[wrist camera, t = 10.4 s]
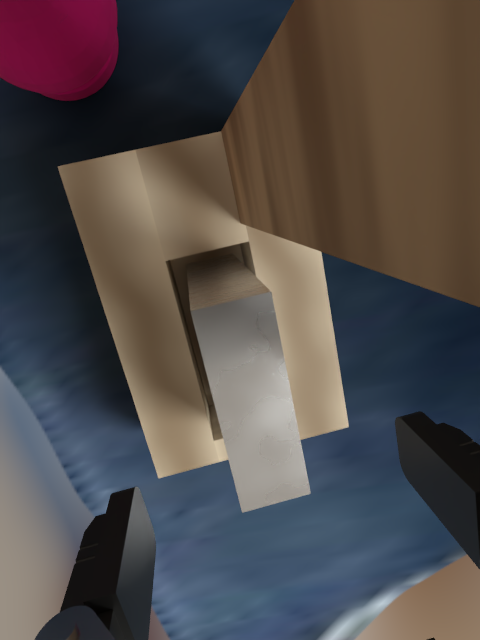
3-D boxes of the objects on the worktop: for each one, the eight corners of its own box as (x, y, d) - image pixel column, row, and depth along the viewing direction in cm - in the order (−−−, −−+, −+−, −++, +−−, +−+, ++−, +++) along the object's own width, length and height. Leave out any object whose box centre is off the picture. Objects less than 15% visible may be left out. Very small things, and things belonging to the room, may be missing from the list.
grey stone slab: (232, 253, 27) (271, 291, 15) (259, 379, 29) (310, 493, 18) (186, 264, 26) (190, 311, 15) (218, 390, 29) (242, 512, 18)
